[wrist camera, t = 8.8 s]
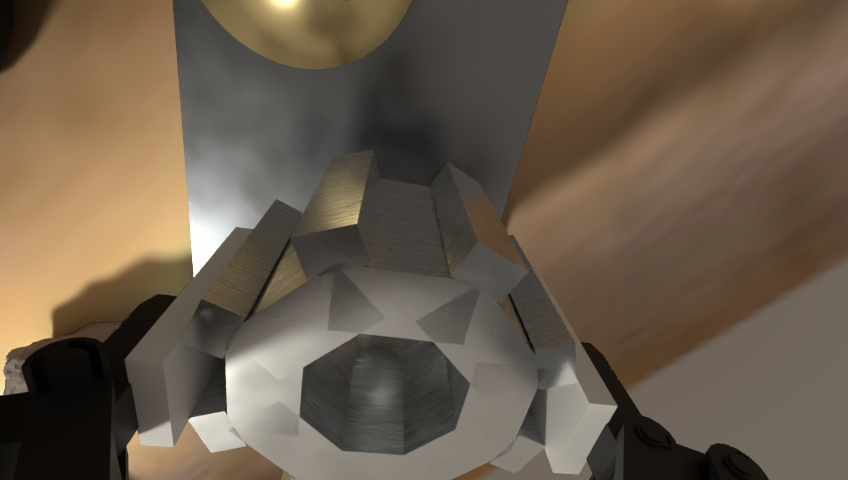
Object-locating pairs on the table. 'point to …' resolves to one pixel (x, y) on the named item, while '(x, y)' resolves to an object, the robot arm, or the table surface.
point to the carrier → (351, 96)
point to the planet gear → (379, 334)
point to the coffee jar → (5, 25)
